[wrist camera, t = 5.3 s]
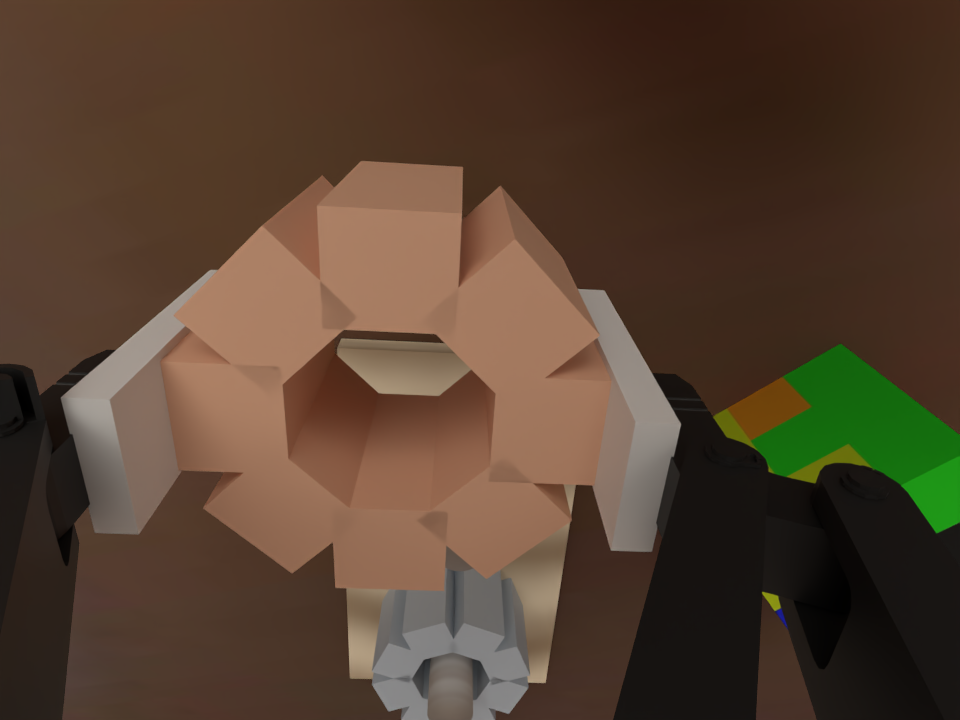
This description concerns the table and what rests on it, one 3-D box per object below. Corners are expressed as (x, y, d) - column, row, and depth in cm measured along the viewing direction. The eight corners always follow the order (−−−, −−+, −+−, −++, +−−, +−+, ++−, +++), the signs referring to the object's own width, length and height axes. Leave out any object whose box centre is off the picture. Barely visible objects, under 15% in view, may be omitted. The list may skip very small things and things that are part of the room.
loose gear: (231, 153, 15) (130, 195, 10) (588, 174, 15) (639, 223, 11) (262, 455, 19) (197, 583, 14) (550, 466, 19) (577, 594, 14)
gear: (363, 578, 39) (349, 648, 34) (495, 541, 38) (499, 607, 33) (414, 669, 42) (408, 743, 38) (536, 637, 41) (545, 709, 37)
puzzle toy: (749, 547, 40) (832, 692, 31) (673, 438, 36) (742, 565, 27) (904, 468, 38) (1044, 599, 29) (839, 343, 34) (976, 447, 25)
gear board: (341, 338, 33) (305, 420, 26) (590, 350, 34) (626, 433, 26) (352, 663, 43) (329, 788, 36) (543, 667, 44) (559, 791, 37)
